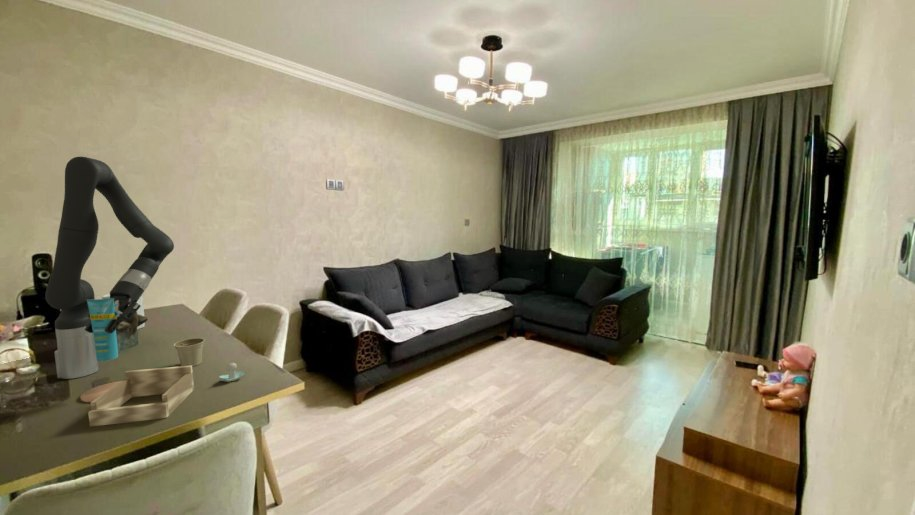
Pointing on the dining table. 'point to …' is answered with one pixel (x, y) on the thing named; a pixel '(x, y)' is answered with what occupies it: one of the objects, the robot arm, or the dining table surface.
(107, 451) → the dining table surface
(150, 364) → the dining table surface
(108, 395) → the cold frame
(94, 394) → the saucer
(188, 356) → the flower pot
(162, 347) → the dining table surface
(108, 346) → the tube
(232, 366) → the pacifier
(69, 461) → the dining table surface
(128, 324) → the brown and grey lump
